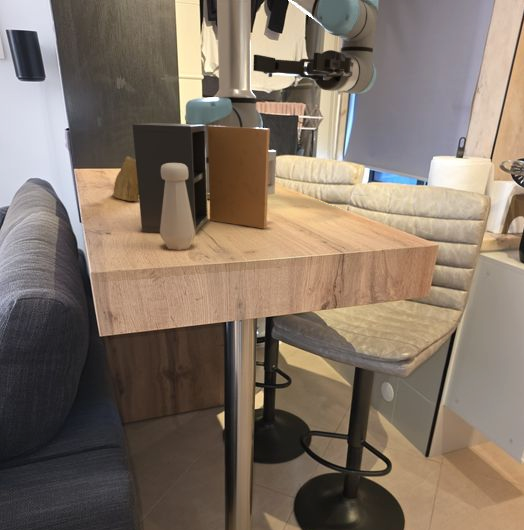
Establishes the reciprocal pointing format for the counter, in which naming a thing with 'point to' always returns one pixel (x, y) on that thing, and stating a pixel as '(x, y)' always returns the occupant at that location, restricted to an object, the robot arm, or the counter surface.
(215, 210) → the door
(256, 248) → the counter surface
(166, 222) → the salt shaker
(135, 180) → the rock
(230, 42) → the robot arm
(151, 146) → the dark grey cabinet
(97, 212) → the counter surface
